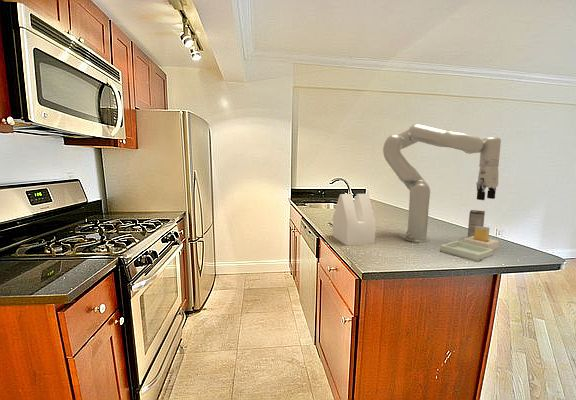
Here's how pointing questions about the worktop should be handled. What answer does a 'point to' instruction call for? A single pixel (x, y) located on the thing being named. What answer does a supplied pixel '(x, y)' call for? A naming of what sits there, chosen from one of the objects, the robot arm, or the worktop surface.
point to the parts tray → (466, 250)
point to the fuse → (481, 233)
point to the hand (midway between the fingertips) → (485, 199)
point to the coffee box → (475, 221)
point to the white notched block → (354, 220)
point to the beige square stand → (482, 243)
